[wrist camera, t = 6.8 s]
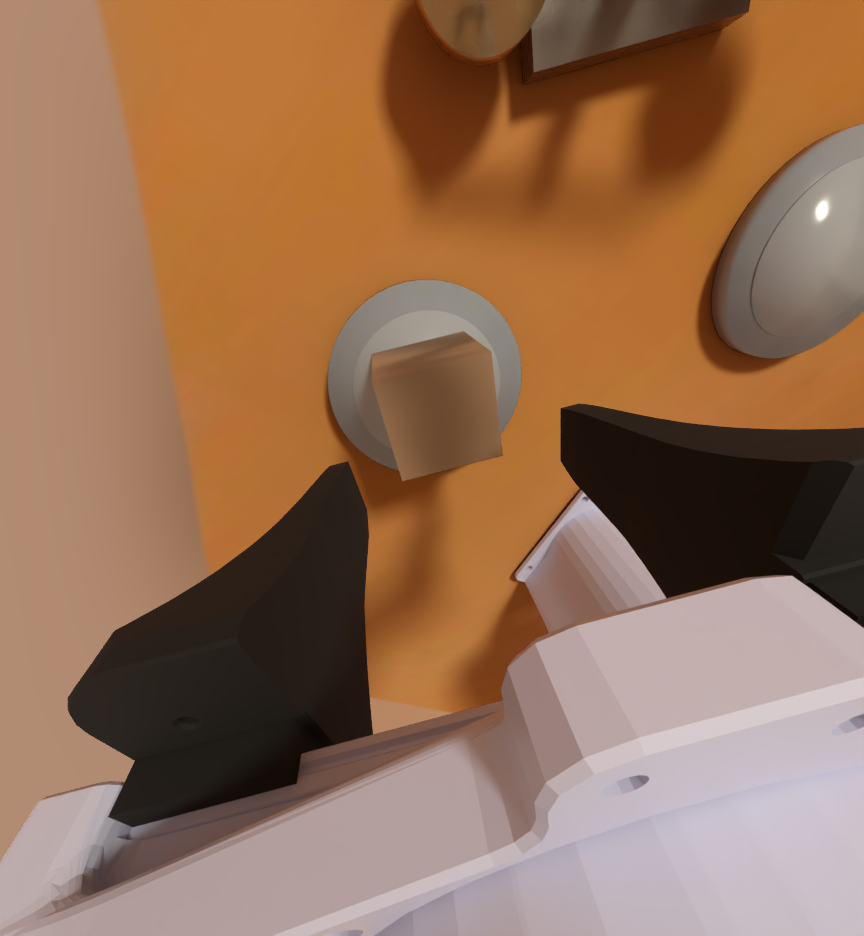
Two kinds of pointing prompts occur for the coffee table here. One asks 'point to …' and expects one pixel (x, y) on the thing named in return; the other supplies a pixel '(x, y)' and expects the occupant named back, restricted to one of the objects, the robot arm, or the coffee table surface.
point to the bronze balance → (568, 29)
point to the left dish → (406, 322)
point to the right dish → (796, 254)
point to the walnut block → (438, 403)
